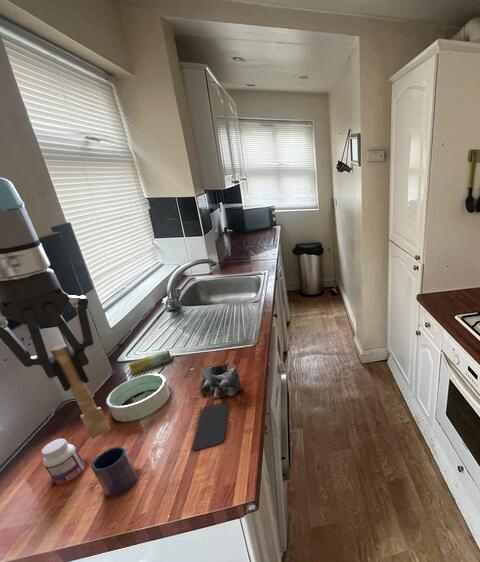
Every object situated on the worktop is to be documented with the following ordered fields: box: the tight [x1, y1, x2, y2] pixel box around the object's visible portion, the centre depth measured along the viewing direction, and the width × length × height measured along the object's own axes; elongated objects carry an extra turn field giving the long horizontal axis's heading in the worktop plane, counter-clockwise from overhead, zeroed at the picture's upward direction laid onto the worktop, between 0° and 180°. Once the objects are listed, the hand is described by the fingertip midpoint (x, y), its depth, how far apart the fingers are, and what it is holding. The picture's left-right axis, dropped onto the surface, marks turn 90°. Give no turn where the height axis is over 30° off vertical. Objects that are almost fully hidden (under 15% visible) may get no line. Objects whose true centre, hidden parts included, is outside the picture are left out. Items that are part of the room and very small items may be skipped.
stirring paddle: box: [49, 343, 111, 440], centre depth 62 cm, size 3×2×22 cm
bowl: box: [106, 373, 171, 423], centre depth 92 cm, size 14×14×6 cm
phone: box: [192, 403, 229, 451], centre depth 84 cm, size 7×1×15 cm
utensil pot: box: [90, 446, 138, 498], centre depth 68 cm, size 6×6×9 cm
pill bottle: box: [41, 438, 86, 485], centre depth 71 cm, size 5×5×10 cm
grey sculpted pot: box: [199, 361, 242, 399], centre depth 98 cm, size 12×11×15 cm
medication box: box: [128, 350, 173, 375], centre depth 110 cm, size 12×3×4 cm, turn 129°
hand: (76, 383), depth 61 cm, fingers closed on stirring paddle, 2 cm apart
